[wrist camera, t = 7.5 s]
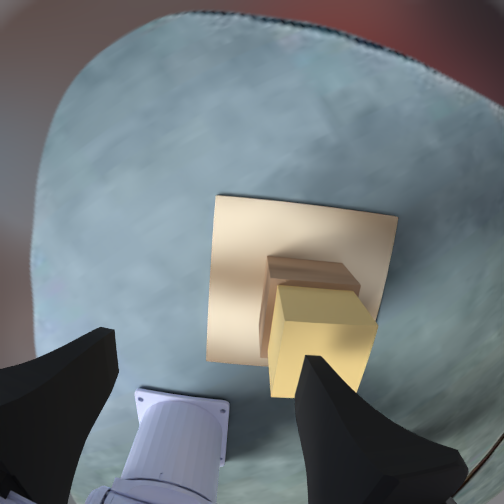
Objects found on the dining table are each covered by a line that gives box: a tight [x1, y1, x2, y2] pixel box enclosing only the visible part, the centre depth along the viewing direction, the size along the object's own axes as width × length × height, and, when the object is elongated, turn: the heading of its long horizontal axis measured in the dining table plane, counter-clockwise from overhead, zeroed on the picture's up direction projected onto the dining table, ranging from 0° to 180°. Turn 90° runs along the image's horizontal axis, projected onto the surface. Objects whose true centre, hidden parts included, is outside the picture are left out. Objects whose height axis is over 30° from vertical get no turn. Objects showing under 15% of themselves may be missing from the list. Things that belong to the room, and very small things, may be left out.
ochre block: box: [268, 285, 378, 398], centre depth 15 cm, size 4×4×4 cm
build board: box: [206, 195, 398, 366], centre depth 21 cm, size 12×12×1 cm
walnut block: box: [259, 256, 361, 358], centre depth 19 cm, size 5×5×4 cm
